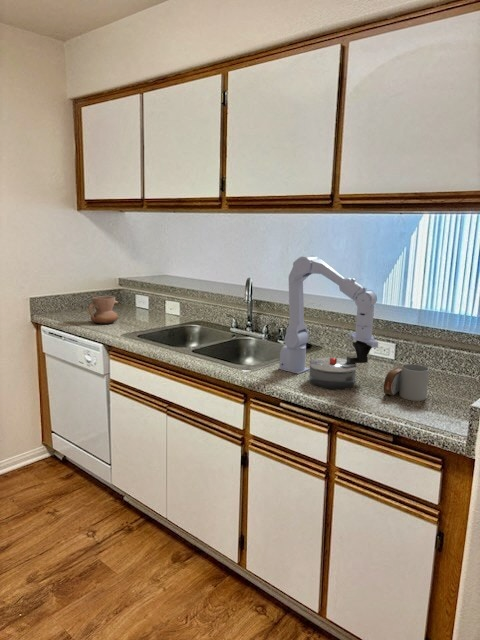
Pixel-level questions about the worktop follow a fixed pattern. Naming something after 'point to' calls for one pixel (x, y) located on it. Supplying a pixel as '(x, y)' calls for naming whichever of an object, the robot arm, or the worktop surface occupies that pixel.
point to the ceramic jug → (103, 310)
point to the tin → (393, 381)
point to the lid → (335, 364)
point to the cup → (414, 382)
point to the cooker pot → (332, 379)
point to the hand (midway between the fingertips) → (361, 362)
